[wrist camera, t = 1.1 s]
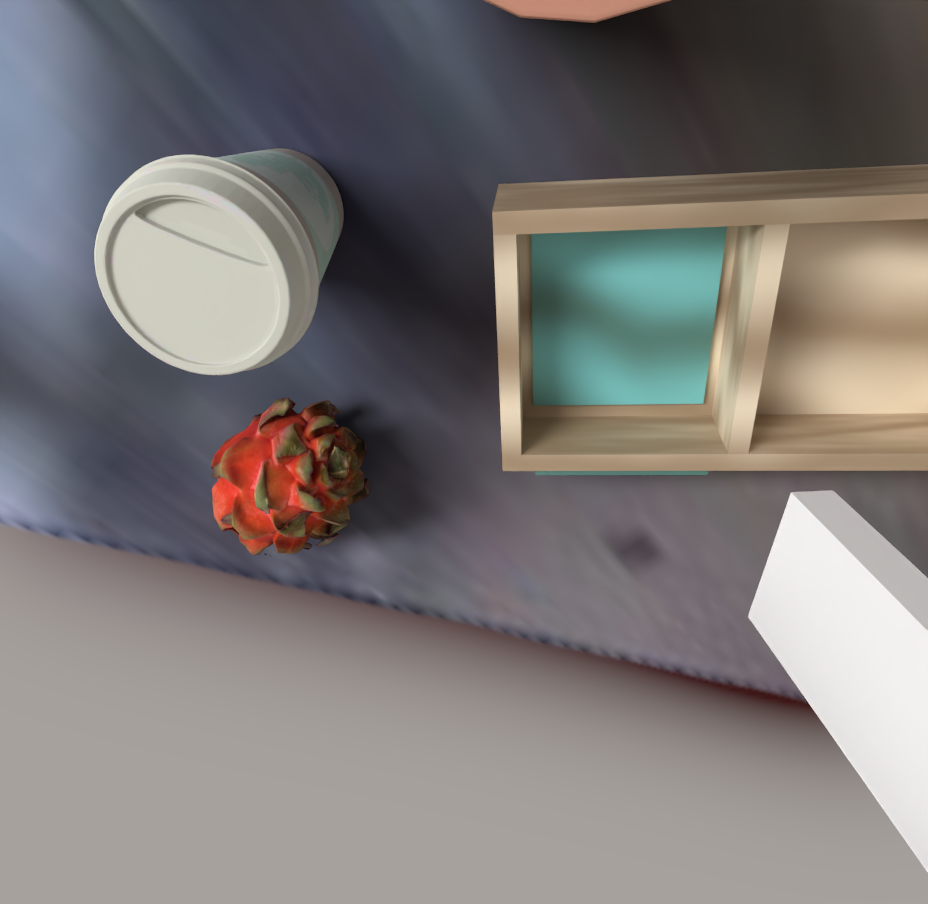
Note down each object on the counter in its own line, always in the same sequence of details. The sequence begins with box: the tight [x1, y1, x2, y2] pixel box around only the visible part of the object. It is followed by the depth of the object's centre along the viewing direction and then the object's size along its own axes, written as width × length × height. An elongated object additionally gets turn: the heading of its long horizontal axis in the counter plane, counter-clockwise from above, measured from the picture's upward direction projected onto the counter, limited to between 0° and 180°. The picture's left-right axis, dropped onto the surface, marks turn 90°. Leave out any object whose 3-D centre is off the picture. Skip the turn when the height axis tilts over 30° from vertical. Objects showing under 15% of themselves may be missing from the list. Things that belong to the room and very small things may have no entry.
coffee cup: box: [94, 148, 344, 375], centre depth 31 cm, size 9×8×12 cm
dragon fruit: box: [211, 398, 369, 557], centre depth 42 cm, size 8×8×12 cm
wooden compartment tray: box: [492, 164, 928, 475], centre depth 34 cm, size 14×35×6 cm, turn 93°
